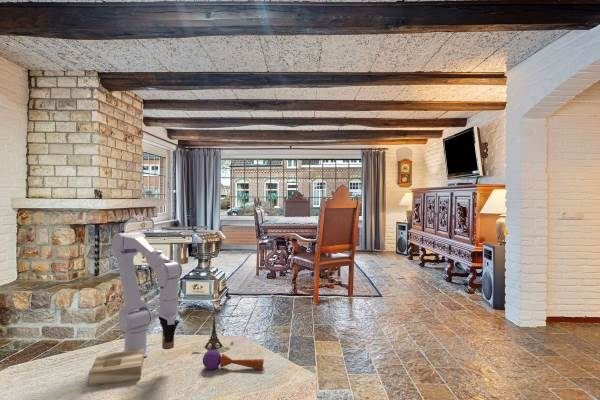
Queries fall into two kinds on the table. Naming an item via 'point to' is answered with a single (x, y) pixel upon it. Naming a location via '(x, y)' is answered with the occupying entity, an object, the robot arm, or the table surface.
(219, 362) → the kendama
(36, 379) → the table surface
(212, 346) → the eiffel tower figurine
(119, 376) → the socket block
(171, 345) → the peg
